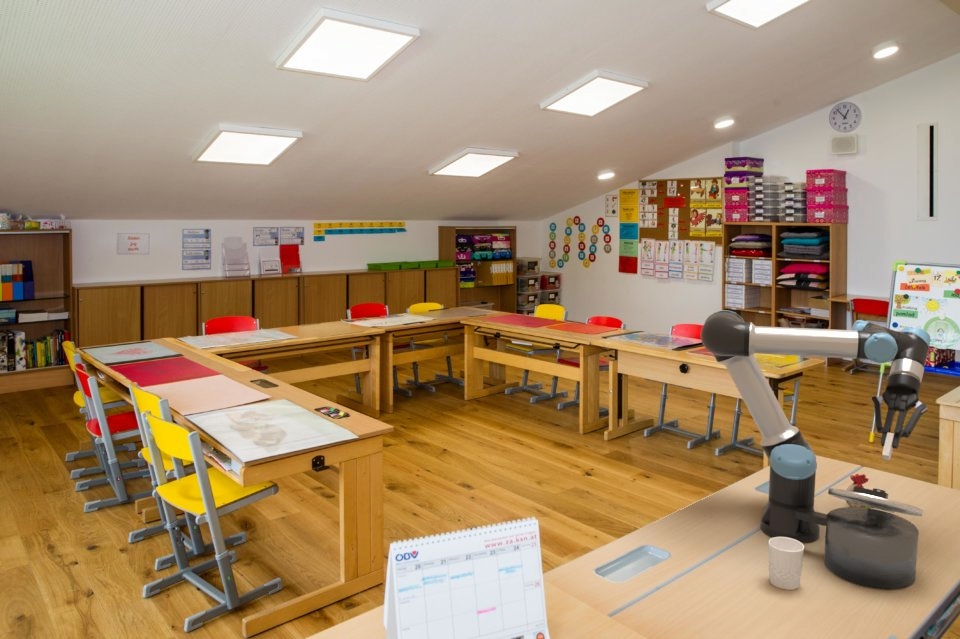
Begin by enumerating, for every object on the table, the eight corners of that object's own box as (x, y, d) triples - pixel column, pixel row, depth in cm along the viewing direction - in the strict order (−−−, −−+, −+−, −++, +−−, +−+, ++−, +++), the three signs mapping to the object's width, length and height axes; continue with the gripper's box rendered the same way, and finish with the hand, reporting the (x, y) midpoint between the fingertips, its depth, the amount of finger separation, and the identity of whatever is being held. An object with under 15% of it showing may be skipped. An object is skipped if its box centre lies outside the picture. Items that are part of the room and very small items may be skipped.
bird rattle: (862, 520, 211) (881, 503, 214) (853, 489, 207) (873, 473, 210) (843, 512, 216) (863, 496, 219) (834, 482, 213) (854, 466, 216)
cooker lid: (819, 489, 175) (822, 472, 176) (838, 500, 191) (840, 484, 192) (915, 511, 162) (918, 492, 163) (927, 520, 178) (929, 503, 179)
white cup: (786, 594, 166) (788, 554, 165) (759, 579, 173) (761, 541, 172) (809, 586, 170) (811, 546, 169) (781, 572, 177) (783, 534, 176)
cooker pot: (782, 562, 181) (785, 518, 180) (806, 535, 197) (808, 494, 195) (906, 598, 164) (910, 549, 162) (921, 565, 179) (925, 520, 177)
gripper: (934, 390, 188) (917, 470, 178) (879, 384, 196) (860, 459, 187) (931, 375, 183) (913, 456, 173) (875, 369, 191) (855, 445, 182)
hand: (886, 457), depth 180 cm, fingers closed
